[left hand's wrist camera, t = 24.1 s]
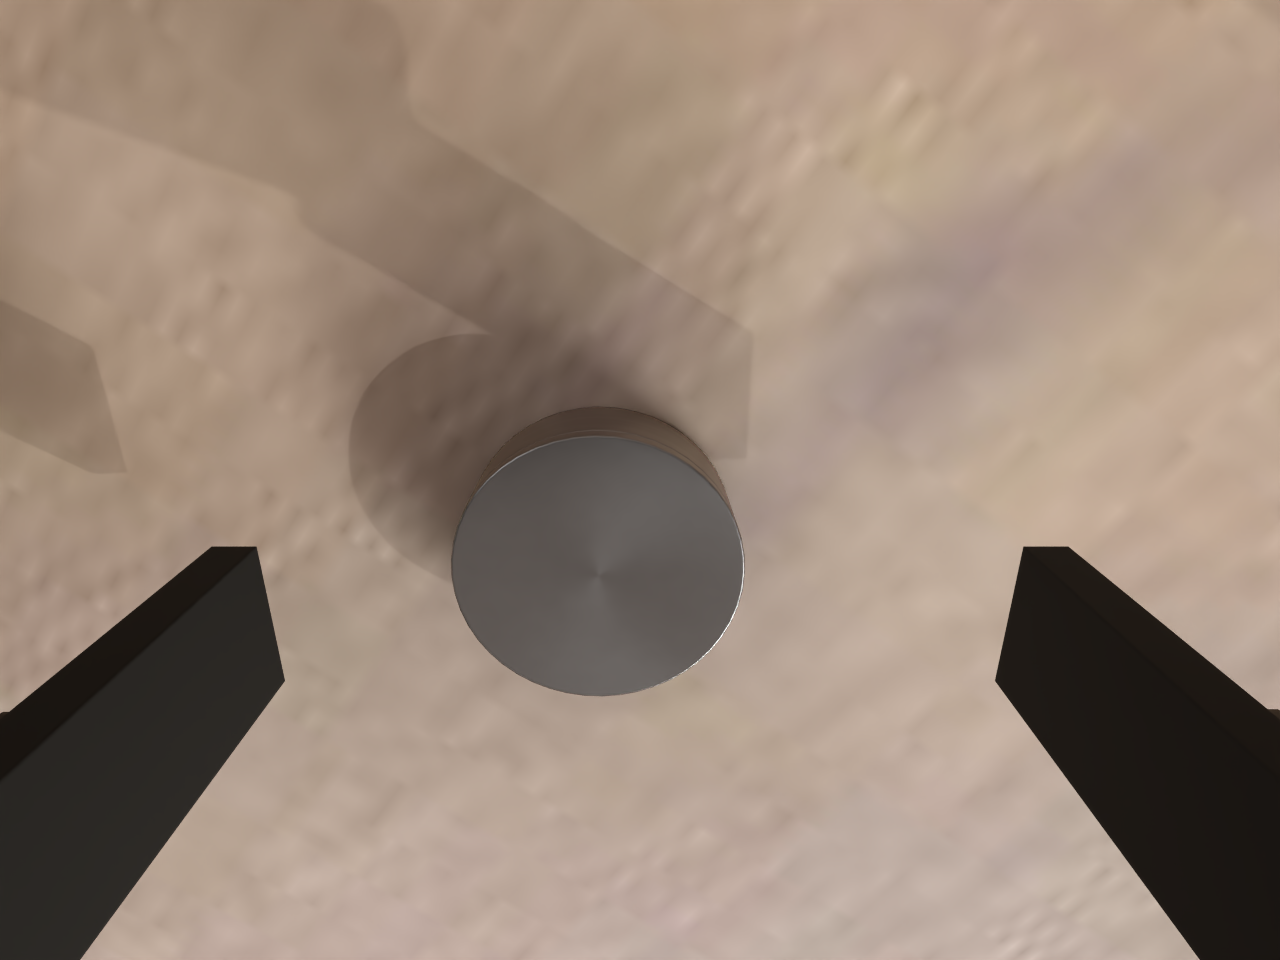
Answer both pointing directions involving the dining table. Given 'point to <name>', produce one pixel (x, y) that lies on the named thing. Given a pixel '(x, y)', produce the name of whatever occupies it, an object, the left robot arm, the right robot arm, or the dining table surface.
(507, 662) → the lid
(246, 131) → the dining table surface
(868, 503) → the dining table surface
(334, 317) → the dining table surface
